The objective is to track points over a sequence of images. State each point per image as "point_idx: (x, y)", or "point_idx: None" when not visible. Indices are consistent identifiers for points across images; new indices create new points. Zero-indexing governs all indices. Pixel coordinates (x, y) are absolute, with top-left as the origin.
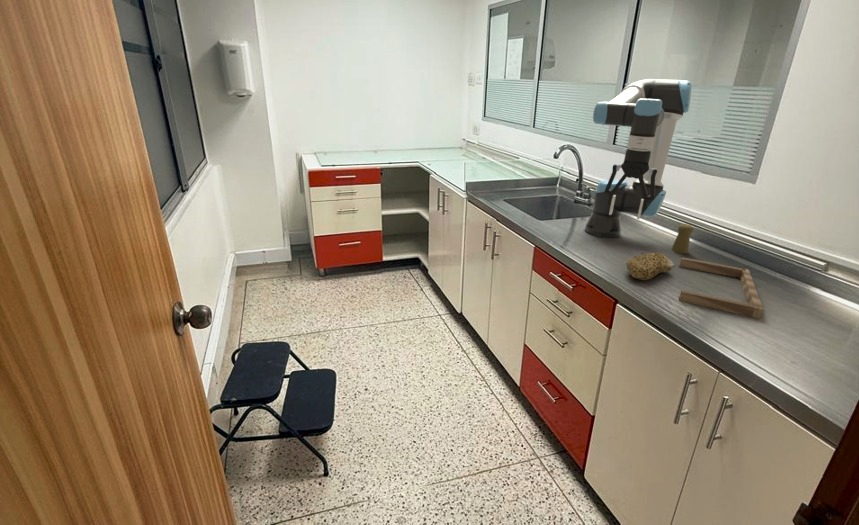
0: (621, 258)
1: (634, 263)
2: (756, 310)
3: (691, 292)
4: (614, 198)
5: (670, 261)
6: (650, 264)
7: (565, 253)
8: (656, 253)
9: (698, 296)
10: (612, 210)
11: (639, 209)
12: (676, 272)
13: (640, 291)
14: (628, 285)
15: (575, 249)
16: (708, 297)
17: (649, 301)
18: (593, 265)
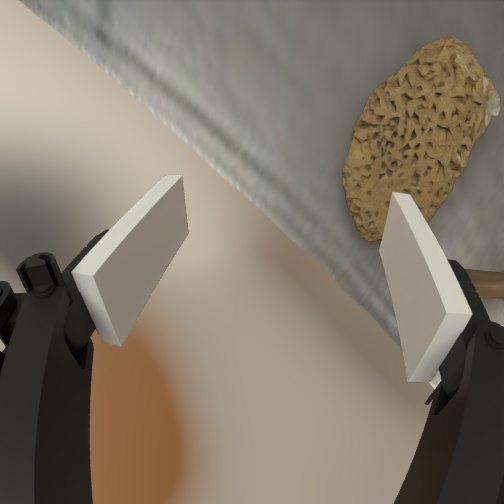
0: (321, 11)
1: (368, 216)
2: None
3: (479, 289)
4: (128, 331)
5: (495, 98)
6: (422, 206)
7: (126, 86)
8: (459, 64)
9: (486, 296)
10: (173, 213)
11: (396, 306)
12: (497, 83)
13: (375, 271)
14: (348, 249)
15: (144, 23)
16: (501, 297)
17: (385, 310)
18: (233, 141)
